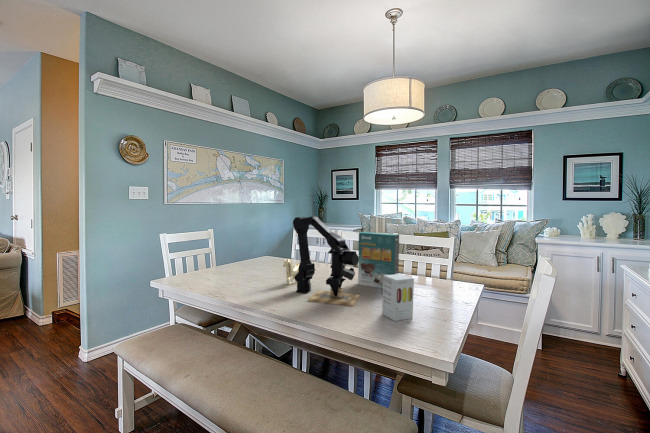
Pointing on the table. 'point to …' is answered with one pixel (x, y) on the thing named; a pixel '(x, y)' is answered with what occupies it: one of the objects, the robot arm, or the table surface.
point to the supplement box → (398, 297)
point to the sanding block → (340, 293)
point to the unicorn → (290, 270)
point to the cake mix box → (377, 257)
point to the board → (325, 298)
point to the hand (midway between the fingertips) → (337, 294)
